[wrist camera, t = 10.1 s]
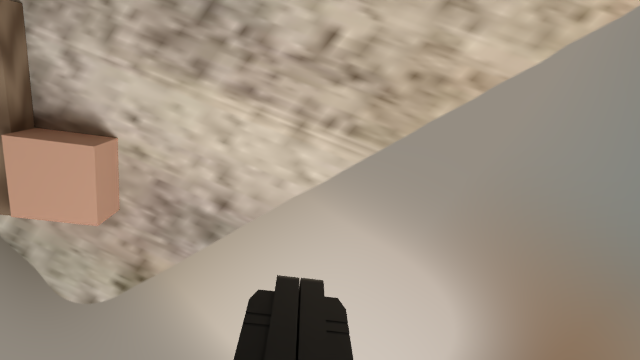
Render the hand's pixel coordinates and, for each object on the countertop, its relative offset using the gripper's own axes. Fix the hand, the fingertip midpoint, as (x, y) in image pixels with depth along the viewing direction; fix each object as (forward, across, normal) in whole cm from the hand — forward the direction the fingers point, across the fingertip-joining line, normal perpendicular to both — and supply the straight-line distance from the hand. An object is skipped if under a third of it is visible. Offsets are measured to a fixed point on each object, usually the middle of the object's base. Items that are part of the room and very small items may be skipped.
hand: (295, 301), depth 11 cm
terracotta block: (+27, +23, +7) cm, 36 cm away
